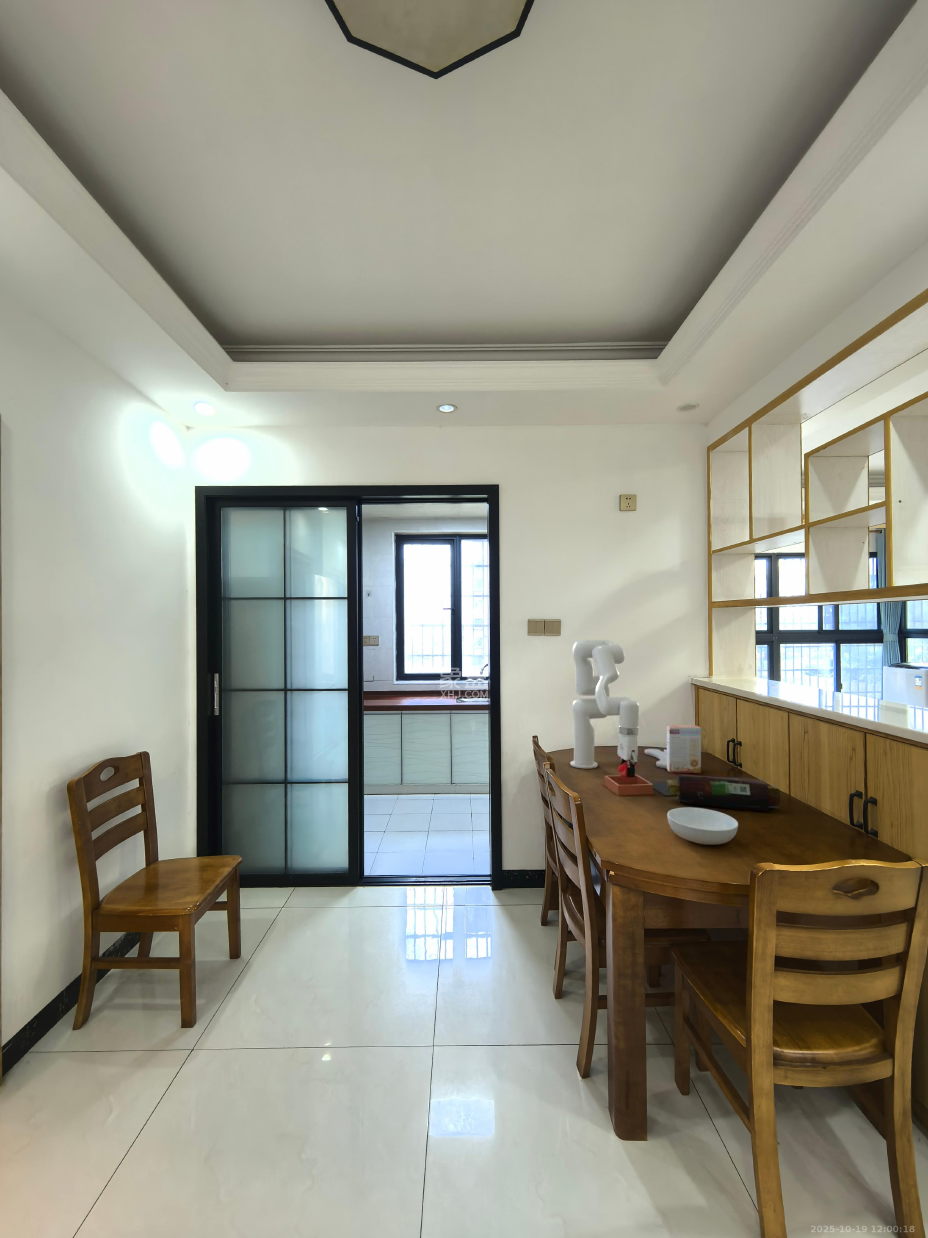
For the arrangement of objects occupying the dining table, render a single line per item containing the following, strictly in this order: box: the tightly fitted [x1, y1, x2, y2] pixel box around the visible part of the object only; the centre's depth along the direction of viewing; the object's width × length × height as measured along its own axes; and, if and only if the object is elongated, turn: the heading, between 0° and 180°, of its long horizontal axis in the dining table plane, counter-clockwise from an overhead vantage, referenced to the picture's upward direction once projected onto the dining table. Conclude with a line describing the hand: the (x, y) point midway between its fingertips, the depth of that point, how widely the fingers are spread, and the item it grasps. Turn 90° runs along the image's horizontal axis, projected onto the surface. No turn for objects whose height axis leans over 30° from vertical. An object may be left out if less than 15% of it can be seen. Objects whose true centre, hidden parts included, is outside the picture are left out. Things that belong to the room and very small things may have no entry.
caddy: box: [603, 774, 654, 797], centre depth 241 cm, size 15×15×4 cm
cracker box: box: [666, 724, 702, 774], centre depth 270 cm, size 14×6×21 cm, turn 84°
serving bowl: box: [666, 806, 739, 846], centre depth 187 cm, size 21×21×7 cm
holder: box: [644, 748, 667, 770], centre depth 290 cm, size 19×34×5 cm, turn 175°
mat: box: [649, 781, 677, 797], centre depth 242 cm, size 18×14×1 cm
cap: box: [617, 761, 639, 778], centre depth 241 cm, size 8×6×6 cm
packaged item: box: [666, 773, 781, 813], centre depth 222 cm, size 39×10×10 cm, turn 76°
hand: (627, 774), depth 241 cm, fingers closed on cap, 5 cm apart
